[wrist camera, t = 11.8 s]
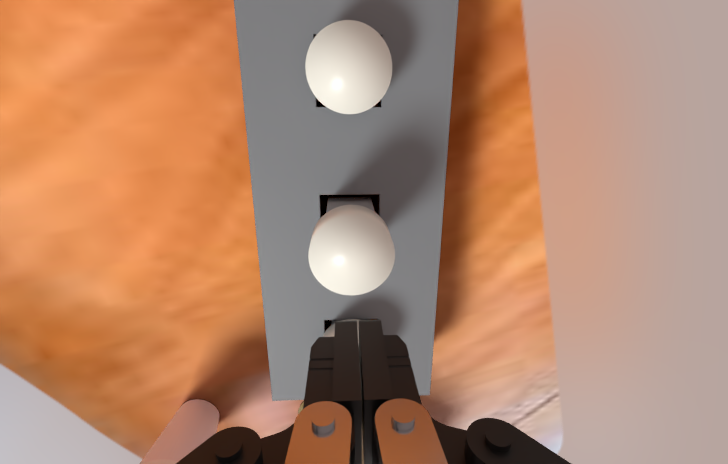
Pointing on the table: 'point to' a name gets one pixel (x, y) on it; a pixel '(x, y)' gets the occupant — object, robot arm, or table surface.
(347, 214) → the knob middle
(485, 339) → the table surface
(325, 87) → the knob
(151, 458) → the smoothie
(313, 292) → the control panel
